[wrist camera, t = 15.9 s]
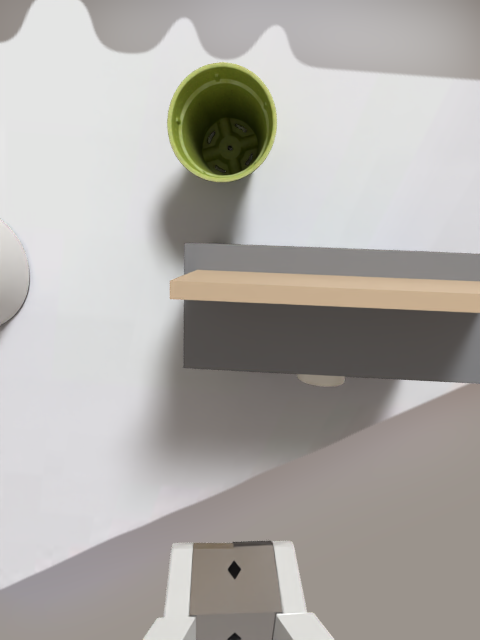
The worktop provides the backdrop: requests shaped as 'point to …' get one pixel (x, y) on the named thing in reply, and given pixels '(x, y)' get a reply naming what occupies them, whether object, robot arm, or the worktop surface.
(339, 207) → the worktop surface
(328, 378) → the middle button
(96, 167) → the worktop surface
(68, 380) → the worktop surface
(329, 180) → the worktop surface
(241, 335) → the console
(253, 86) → the plant pot
